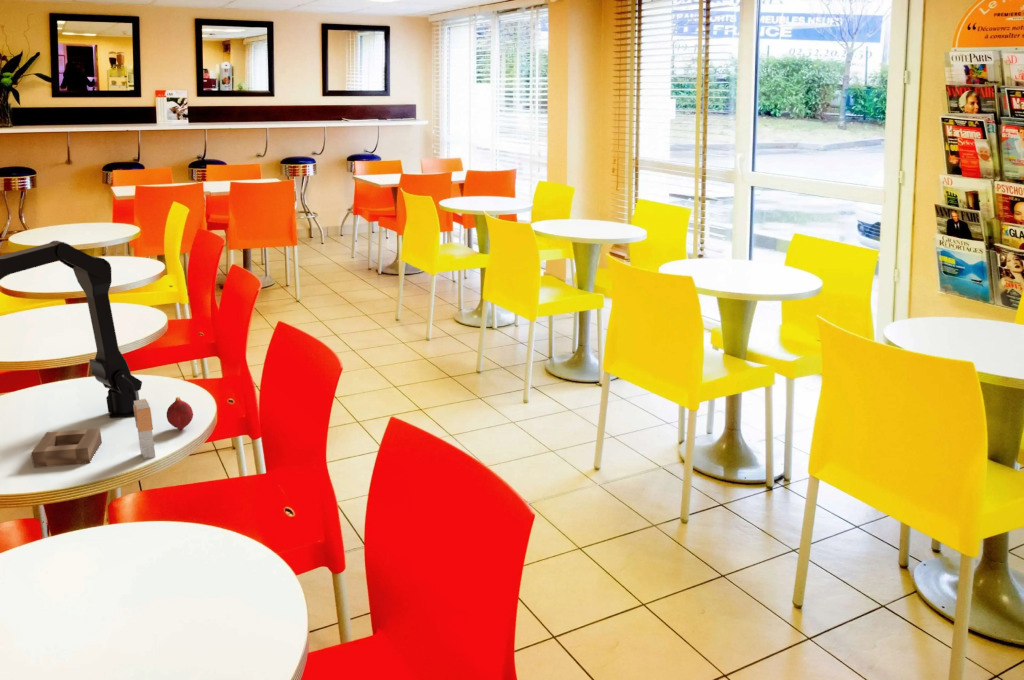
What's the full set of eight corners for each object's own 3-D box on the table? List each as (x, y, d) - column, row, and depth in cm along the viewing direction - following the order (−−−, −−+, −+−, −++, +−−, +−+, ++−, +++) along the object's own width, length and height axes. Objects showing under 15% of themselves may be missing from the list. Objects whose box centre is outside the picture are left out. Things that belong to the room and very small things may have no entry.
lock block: (101, 442, 193) (99, 428, 192) (89, 462, 183) (87, 447, 182) (49, 446, 191) (46, 432, 190) (33, 467, 180) (31, 452, 179)
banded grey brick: (139, 453, 187) (132, 400, 183) (153, 451, 189) (146, 398, 185) (142, 460, 184) (135, 406, 180) (156, 457, 186) (149, 403, 182)
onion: (199, 429, 201) (195, 397, 198) (175, 436, 197) (171, 403, 194) (187, 422, 204) (183, 391, 202) (164, 429, 200) (160, 397, 198)
